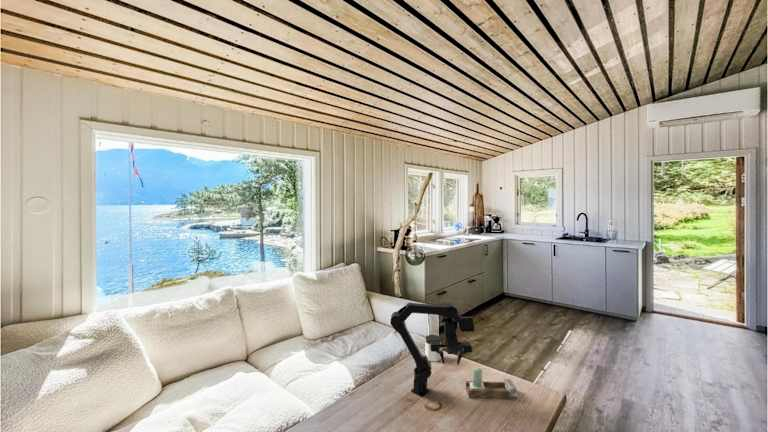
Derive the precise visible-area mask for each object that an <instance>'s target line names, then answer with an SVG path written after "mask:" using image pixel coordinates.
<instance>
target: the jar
mask: <svg viewBox="0 0 768 432" xmlns="http://www.w3.org/2000/svg"><path fill="white" fill-rule="evenodd" d="M431 341H438V342H439V344H442V342H441V337H440V336H439V335H437V334H427V335H426V336H425V340H424V344H425V345H424V348H425V349H424V350H425V351H424V352H425V355H424V356H426V355H427V358H428V360H429V361H430V362H433V363H436V362H438V361H441V360H442V359H441V356H440V354H439V353H437V352H432V351H431V349H430V342H431Z"/></svg>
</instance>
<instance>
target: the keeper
mask: <svg viewBox="0 0 768 432" xmlns="http://www.w3.org/2000/svg"><path fill="white" fill-rule="evenodd" d="M472 381H473V382H470V389H475V390H485V387H484V385H483V383H482V381H483V371H482V369H481V368H480V367H473V368H472Z"/></svg>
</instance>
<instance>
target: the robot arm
mask: <svg viewBox="0 0 768 432" xmlns="http://www.w3.org/2000/svg"><path fill="white" fill-rule="evenodd" d="M412 314H421V315H422V314H424V315H434V316H435V315H437V316H440V319H439V320H440V323H442V324H443V323H444V326H443V327H444V329H443V330H444V334H443V335H444V340H443V341H444V343H441V344H439V342H438V341H431V342H430V349H431V351H432V352H437V353H439V354H440V356H441V359H440V360H441V362H442V365H445V357H444V351H443V349H446V353H447V354H448V355H457V356H456V357H457V358H456V364H457V366H459V365H460V362H461V359H462V357H463V355H466V354H467V353H473V345H472V343H471V342H470V341H458V330H459V331H460V332H461V333H474V332H475V325H474V324H475V323H474V317H473V316H471V315H470V316H461V315H460V313H459V311H458V309H457V306H456V305H455V304H454V303H453V302H442V303H439V304H433V303H430V304H429V303H415V302H408V303H406V304H405V305H404V306H403V307H401V308H400V309H398V310H397V311H393V312H392V313H391V315H390V316H391V317H390V321H389V322H390V326H391V327H392V328H393V329H394V330H395V332H396V333H398V334H399V335H400V337H401V339H402V341H403V343H404V345H405V346H406V347H407V350H408V352H409V353H410V354H411V357H412V359H413V361H414V363H415V366H416V367H415V368H414V369H413V375H414V377H413V388H412V389H411V390H410V392H411V393H413V394H415V395H417V396H420V397H424V396H426V394H428V393H430V392H431V389H430V388H428V379H429V378H430V377H431V376H432V363H431V362H432V361H429V360H428V358H427V355H426V356H425V355H423V354H422V353H421V351H420V349H419V347H418V346H417V344H416V342H415V341H414V338H413V337H412V335H411V333H410V332H409V330H408V327H407V324H406V321H407V319H408V318H409V317H410V316H411V315H412Z"/></svg>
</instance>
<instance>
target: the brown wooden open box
mask: <svg viewBox="0 0 768 432" xmlns="http://www.w3.org/2000/svg"><path fill="white" fill-rule="evenodd" d="M503 380H504V381H485V380H484V381H483V380H482V383H483V385H484V387H485V390H475V389H470V382H473V380H465V390H466V393H467V396H468V399H476V400H477V399H481V400H483V399H484V400H507V401H509V400H510V401H511V400H513V401H517V400H518V396H517V395H518V394H517V391H518V390H517V388H516V386H515V384H514V382H513V381H512V379H511V378H504V379H503Z"/></svg>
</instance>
